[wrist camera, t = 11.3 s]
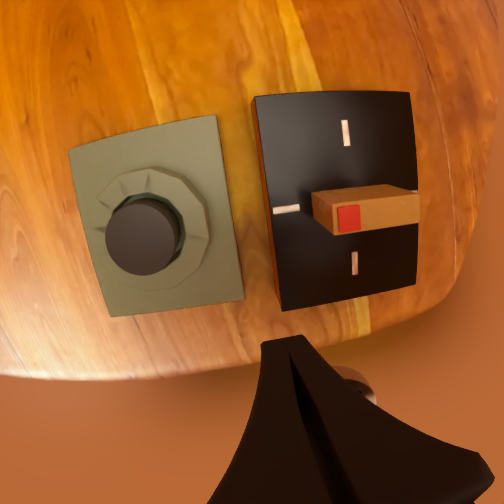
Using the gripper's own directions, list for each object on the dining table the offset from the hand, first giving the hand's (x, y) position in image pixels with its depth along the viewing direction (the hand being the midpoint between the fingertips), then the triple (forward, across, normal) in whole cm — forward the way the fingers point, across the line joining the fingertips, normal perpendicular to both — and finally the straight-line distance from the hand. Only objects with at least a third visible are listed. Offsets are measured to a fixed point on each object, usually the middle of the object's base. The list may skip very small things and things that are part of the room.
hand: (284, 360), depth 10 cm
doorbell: (+11, +5, -2) cm, 12 cm away
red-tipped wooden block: (+8, -6, -2) cm, 10 cm away
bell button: (+8, +5, -3) cm, 10 cm away
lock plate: (+11, -6, -2) cm, 12 cm away
